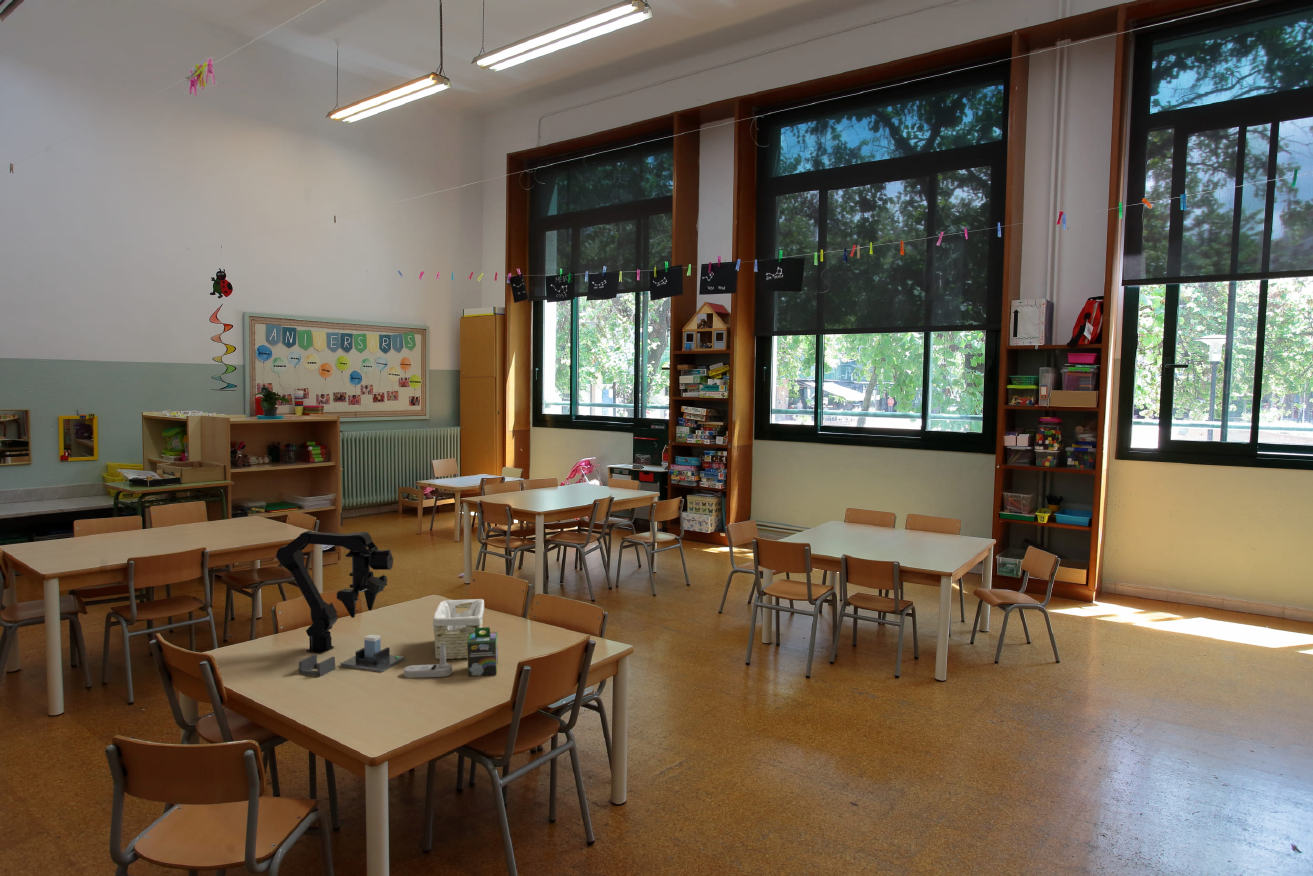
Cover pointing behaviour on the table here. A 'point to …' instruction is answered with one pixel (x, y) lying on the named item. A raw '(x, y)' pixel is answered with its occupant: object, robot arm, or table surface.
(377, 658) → the port
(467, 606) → the storage basket
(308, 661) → the holster
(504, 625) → the table surface
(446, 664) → the electronic device
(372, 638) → the plug
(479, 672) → the chalk box
